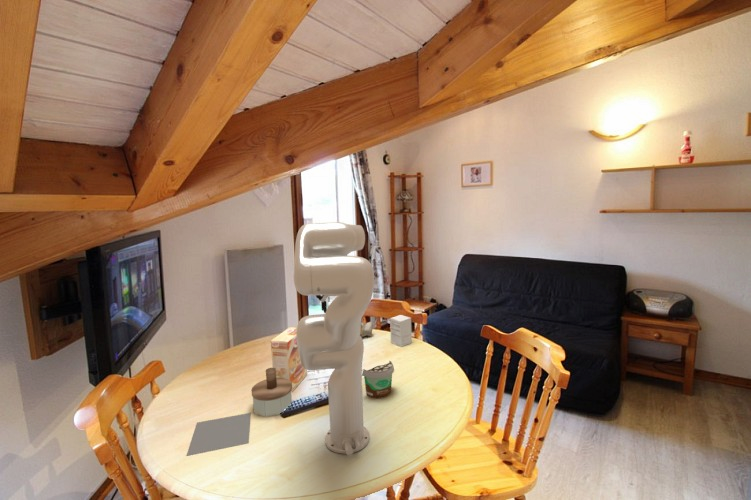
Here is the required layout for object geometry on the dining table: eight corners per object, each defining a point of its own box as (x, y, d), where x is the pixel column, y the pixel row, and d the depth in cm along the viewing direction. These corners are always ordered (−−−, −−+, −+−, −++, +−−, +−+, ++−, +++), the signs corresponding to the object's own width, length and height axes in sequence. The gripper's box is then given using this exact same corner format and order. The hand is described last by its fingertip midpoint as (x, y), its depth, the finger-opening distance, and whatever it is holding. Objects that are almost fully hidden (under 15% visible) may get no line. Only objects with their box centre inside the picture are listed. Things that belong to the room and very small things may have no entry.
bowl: (292, 413, 118) (291, 395, 117) (253, 420, 114) (252, 402, 113) (290, 395, 129) (289, 379, 128) (255, 401, 126) (253, 384, 125)
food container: (372, 404, 121) (371, 376, 120) (363, 396, 126) (361, 369, 125) (401, 392, 128) (401, 365, 127) (391, 385, 133) (390, 360, 132)
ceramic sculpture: (376, 320, 181) (349, 328, 174) (378, 337, 182) (350, 345, 175) (367, 315, 190) (341, 322, 184) (369, 331, 191) (342, 338, 185)
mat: (248, 445, 102) (248, 443, 102) (186, 457, 98) (186, 455, 98) (251, 414, 118) (250, 412, 118) (197, 424, 113) (196, 422, 113)
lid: (293, 396, 117) (292, 375, 116) (251, 403, 113) (249, 382, 112) (290, 378, 129) (289, 358, 128) (252, 384, 125) (250, 364, 124)
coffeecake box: (291, 394, 130) (287, 341, 127) (273, 392, 131) (269, 340, 129) (308, 374, 144) (305, 327, 142) (291, 373, 146) (288, 326, 143)
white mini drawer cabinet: (401, 339, 179) (400, 314, 177) (412, 343, 173) (411, 317, 172) (390, 343, 174) (389, 317, 173) (401, 347, 169) (400, 321, 167)
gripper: (312, 265, 117) (315, 316, 119) (364, 261, 122) (365, 310, 124) (309, 262, 124) (312, 310, 127) (358, 258, 129) (360, 305, 132)
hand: (338, 310), depth 126 cm, fingers open, 9 cm apart
